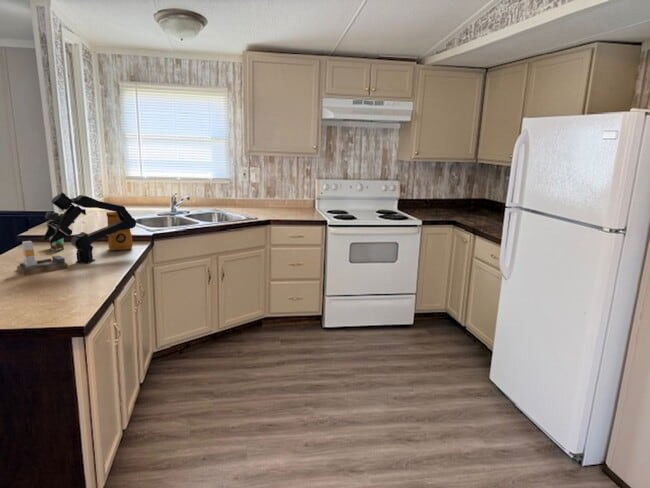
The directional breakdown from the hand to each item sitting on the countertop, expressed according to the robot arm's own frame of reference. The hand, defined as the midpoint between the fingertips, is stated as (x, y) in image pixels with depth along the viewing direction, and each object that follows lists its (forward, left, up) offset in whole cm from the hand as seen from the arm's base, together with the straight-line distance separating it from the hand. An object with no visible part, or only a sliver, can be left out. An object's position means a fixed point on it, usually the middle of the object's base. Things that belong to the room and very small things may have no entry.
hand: (46, 241), depth 209 cm
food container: (+21, -33, -13) cm, 41 cm away
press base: (+2, +2, -13) cm, 13 cm away
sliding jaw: (+5, +7, -11) cm, 14 cm away
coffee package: (-11, -41, -13) cm, 45 cm away
